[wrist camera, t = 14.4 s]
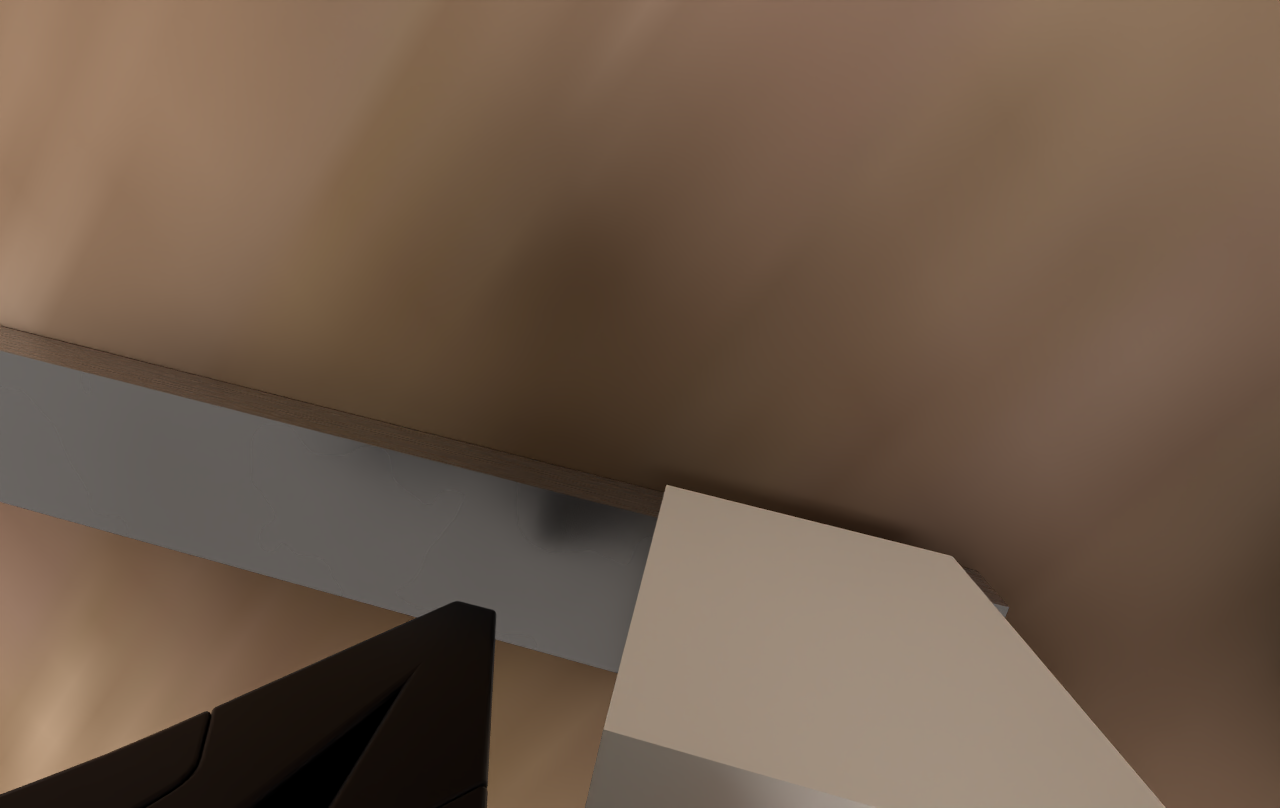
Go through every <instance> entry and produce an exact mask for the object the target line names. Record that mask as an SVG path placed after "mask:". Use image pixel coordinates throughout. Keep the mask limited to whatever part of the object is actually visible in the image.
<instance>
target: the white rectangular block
mask: <svg viewBox="0 0 1280 808" xmlns="http://www.w3.org/2000/svg"><path fill="white" fill-rule="evenodd" d="M585 808H1166V807H1165V806H1164V805H1163V804H1162V803H1161V801H1160V800H1159V799H1158V798H1157V797H1156V796H1155V794H1154V793H1153V792H1152V791H1151V790H1150V789H1149V787H1148V786H1147V785H1146V784H1145V783H1144V781H1143V780H1142V779H1141V778H1140V777H1139V776H1138V774H1137V773H1136V772H1135V771H1134V770H1133V768H1132V767H1131V766H1130V765H1129V764H1128V763H1127V761H1126V760H1125V759H1124V758H1123V757H1122V756H1121V754H1120V753H1119V752H1118V751H1117V750H1116V748H1115V747H1114V746H1113V745H1112V744H1111V743H1110V741H1109V740H1108V739H1107V738H1106V737H1105V735H1104V734H1103V733H1102V732H1101V731H1100V730H1099V728H1098V727H1097V726H1096V725H1095V724H1094V723H1093V721H1092V720H1091V719H1090V718H1089V717H1088V715H1087V714H1086V713H1085V712H1084V711H1083V710H1082V708H1081V707H1080V706H1079V705H1078V704H1077V702H1076V701H1075V700H1074V699H1073V698H1072V697H1071V695H1070V694H1069V693H1068V692H1067V691H1066V689H1065V688H1064V687H1063V686H1062V685H1061V684H1060V682H1059V681H1058V680H1057V679H1056V678H1055V677H1054V675H1053V674H1052V673H1051V672H1050V671H1049V669H1048V668H1047V667H1046V666H1045V665H1044V664H1043V662H1042V661H1041V660H1040V659H1039V658H1038V656H1037V655H1036V654H1035V653H1034V652H1033V651H1032V649H1031V648H1030V647H1029V646H1028V645H1027V644H1026V642H1025V641H1024V640H1023V639H1022V638H1021V636H1020V635H1019V634H1018V633H1017V632H1016V631H1015V629H1014V628H1013V627H1012V626H1011V625H1010V623H1009V622H1008V621H1007V620H1006V619H1005V618H1004V616H1003V615H1002V614H1001V613H1000V612H999V611H998V609H997V608H996V607H995V606H994V605H993V603H992V602H991V601H990V600H989V599H988V598H987V596H986V595H985V594H984V593H983V592H982V590H981V589H980V588H979V587H978V586H977V585H976V583H975V582H974V581H973V580H972V579H971V578H970V576H969V575H968V574H967V573H966V572H965V570H964V569H963V568H962V567H961V566H960V565H959V563H958V562H957V561H956V560H955V559H954V557H953V556H950V555H946V554H942V553H938V552H934V551H930V550H926V549H922V548H918V547H914V546H910V545H906V544H902V543H898V542H894V541H890V540H886V539H882V538H878V537H874V536H870V535H866V534H862V533H858V532H854V531H850V530H846V529H842V528H838V527H834V526H830V525H826V524H822V523H818V522H814V521H810V520H806V519H802V518H798V517H794V516H790V515H786V514H782V513H778V512H774V511H770V510H766V509H762V508H758V507H754V506H750V505H746V504H742V503H738V502H734V501H730V500H726V499H722V498H718V497H714V496H710V495H705V494H701V493H697V492H693V491H689V490H685V489H681V488H677V487H673V486H669V485H666V488H665V492H664V496H663V500H662V504H661V508H660V511H659V515H658V519H657V523H656V527H655V531H654V535H653V539H652V543H651V546H650V550H649V554H648V558H647V562H646V566H645V570H644V574H643V578H642V581H641V585H640V589H639V593H638V597H637V601H636V605H635V609H634V612H633V616H632V620H631V624H630V628H629V632H628V636H627V640H626V644H625V647H624V651H623V655H622V659H621V663H620V667H619V671H618V675H617V678H616V682H615V686H614V690H613V694H612V698H611V702H610V706H609V710H608V713H607V717H606V721H605V725H604V729H603V733H602V737H601V742H600V746H599V750H598V754H597V759H596V763H595V767H594V771H593V776H592V780H591V784H590V788H589V793H588V797H587V801H586V805H585Z"/></svg>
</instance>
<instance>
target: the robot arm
mask: <svg viewBox="0 0 1280 808" xmlns="http://www.w3.org/2000/svg"><path fill="white" fill-rule="evenodd" d="M495 634H496V612H495V611H494V610H492V609H488V608H484V607H480V606H476V605H472V604H468V603H464V602H461V601H454V602H451V603H449V604H447V605H445V606H442V607H440V608H438V609H436V610H433V611H431V612H429V613H427V614H424V615H422V616H420V617H418V618H415V619H413V620H411V621H409V622H406V623H404V624H402V625H400V626H397V627H395V628H393V629H391V630H388V631H386V632H384V633H381V634H379V635H377V636H375V637H372V638H370V639H368V640H366V641H363V642H361V643H359V644H357V645H354V646H352V647H350V648H348V649H345V650H343V651H341V652H339V653H336V654H334V655H332V656H330V657H327V658H325V659H323V660H321V661H318V662H316V663H314V664H312V665H309V666H307V667H305V668H303V669H300V670H298V671H296V672H294V673H291V674H289V675H287V676H285V677H282V678H280V679H278V680H276V681H273V682H271V683H269V684H267V685H264V686H262V687H260V688H258V689H255V690H253V691H251V692H249V693H246V694H244V695H242V696H240V697H237V698H235V699H233V700H231V701H228V702H226V703H224V704H222V705H219V706H217V707H215V708H214V709H213V710H212V712H211V714H210V712H207V711H206V712H203V713H201V714H198V715H196V716H194V717H192V718H189V719H187V720H185V721H183V722H180V723H178V724H176V725H174V726H171V727H169V728H167V729H164V730H162V731H160V732H157V733H155V734H153V735H150V736H148V737H146V738H143V739H141V740H138V741H136V742H134V743H131V744H129V745H127V746H124V747H122V748H119V749H117V750H115V751H112V752H110V753H108V754H105V755H102V756H100V757H97V758H95V759H92V760H90V761H87V762H84V763H82V764H79V765H77V766H74V767H71V768H69V769H66V770H64V771H61V772H59V773H56V774H53V775H51V776H48V777H46V778H43V779H40V780H38V781H35V782H33V783H30V784H27V785H25V786H22V787H19V788H16V789H14V790H11V791H8V792H6V793H3V794H0V808H487V795H488V792H487V786H488V768H489V749H490V730H491V711H492V692H493V672H494V653H495Z"/></svg>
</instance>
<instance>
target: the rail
mask: <svg viewBox="0 0 1280 808" xmlns="http://www.w3.org/2000/svg"><path fill="white" fill-rule="evenodd" d="M663 496H664V492H660V491H656V490H652V489H648V488H644V487H640V486H636V485H632V484H628V483H624V482H620V481H616V480H612V479H608V478H604V477H600V476H596V475H592V474H588V473H584V472H580V471H576V470H572V469H568V468H564V467H560V466H557V465H553V464H549V463H545V462H541V461H537V460H533V459H529V458H525V457H521V456H517V455H513V454H509V453H505V452H501V451H497V450H493V449H489V448H485V447H481V446H477V445H473V444H469V443H465V442H461V441H457V440H453V439H449V438H445V437H441V436H437V435H433V434H429V433H425V432H421V431H417V430H413V429H409V428H405V427H401V426H397V425H393V424H389V423H385V422H381V421H377V420H373V419H369V418H365V417H361V416H357V415H353V414H349V413H345V412H341V411H337V410H333V409H329V408H325V407H321V406H317V405H313V404H309V403H305V402H301V401H297V400H293V399H289V398H285V397H281V396H277V395H273V394H269V393H265V392H261V391H257V390H253V389H249V388H245V387H241V386H237V385H233V384H229V383H225V382H221V381H217V380H213V379H209V378H205V377H201V376H197V375H193V374H189V373H185V372H181V371H178V370H174V369H170V368H166V367H162V366H158V365H154V364H150V363H146V362H142V361H138V360H134V359H130V358H126V357H122V356H118V355H114V354H110V353H106V352H102V351H98V350H94V349H90V348H86V347H82V346H78V345H74V344H70V343H66V342H62V341H58V340H54V339H50V338H46V337H42V336H38V335H34V334H30V333H26V332H22V331H18V330H14V329H10V328H6V327H2V326H0V502H3V503H6V504H10V505H14V506H17V507H21V508H24V509H28V510H32V511H35V512H39V513H42V514H46V515H50V516H53V517H57V518H60V519H64V520H68V521H71V522H75V523H78V524H82V525H86V526H89V527H93V528H96V529H100V530H104V531H107V532H111V533H114V534H118V535H122V536H125V537H129V538H132V539H136V540H140V541H143V542H147V543H150V544H154V545H158V546H161V547H165V548H168V549H172V550H176V551H179V552H183V553H186V554H190V555H194V556H197V557H201V558H204V559H208V560H212V561H215V562H219V563H222V564H226V565H230V566H233V567H237V568H240V569H244V570H248V571H251V572H255V573H258V574H262V575H266V576H269V577H273V578H276V579H280V580H284V581H287V582H291V583H294V584H298V585H302V586H305V587H309V588H312V589H316V590H320V591H323V592H327V593H330V594H334V595H338V596H341V597H345V598H348V599H352V600H356V601H359V602H363V603H367V604H370V605H374V606H377V607H381V608H385V609H388V610H392V611H395V612H399V613H403V614H406V615H410V616H413V617H417V618H418V617H420V616H422V615H424V614H427V613H429V612H431V611H433V610H436V609H438V608H440V607H442V606H445V605H447V604H449V603H451V602H454V601H461V602H464V603H468V604H472V605H476V606H480V607H484V608H488V609H492V610H494V611H495V612H496V634H495V639H496V640H500V641H503V642H507V643H511V644H514V645H518V646H521V647H525V648H529V649H532V650H536V651H539V652H543V653H547V654H550V655H554V656H557V657H561V658H565V659H568V660H572V661H575V662H579V663H583V664H586V665H590V666H593V667H597V668H601V669H604V670H608V671H611V672H615V673H618V671H619V667H620V663H621V659H622V655H623V651H624V647H625V644H626V640H627V636H628V632H629V628H630V624H631V620H632V616H633V612H634V609H635V605H636V601H637V597H638V593H639V589H640V585H641V581H642V578H643V574H644V570H645V566H646V562H647V558H648V554H649V550H650V546H651V543H652V539H653V535H654V531H655V527H656V523H657V519H658V515H659V511H660V508H661V504H662V500H663ZM962 568H963V567H962ZM963 569H964V570H965V572H966V573H967V574H968V575H969V576H970V578H971V579H972V580H973V581H974V582H975V583H976V585H977V586H978V587H979V588H980V589H981V590H982V592H983V593H984V594H985V595H986V596H987V598H988V599H989V600H990V601H991V602H992V603H993V605H994V606H995V607H996V608H997V609H998V611H999V612H1000V613H1001V614H1002V615H1003V616H1004V618H1005V617H1006V614H1007V612H1008V609H1009V607H1008V605H1007V604H1006V603H1005V602H1004V601H1003V600H1002V599H1001V598H1000V596H999V595H998V594H997V593H996V592H995V591H994V590H993V589H992V587H991V586H990V585H989V584H988V583H987V582H986V581H985V580H984V578H983V577H982V576H981V575H980V574H979V573H978V572H977V571H975V570H971V569H967V568H963Z"/></svg>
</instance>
